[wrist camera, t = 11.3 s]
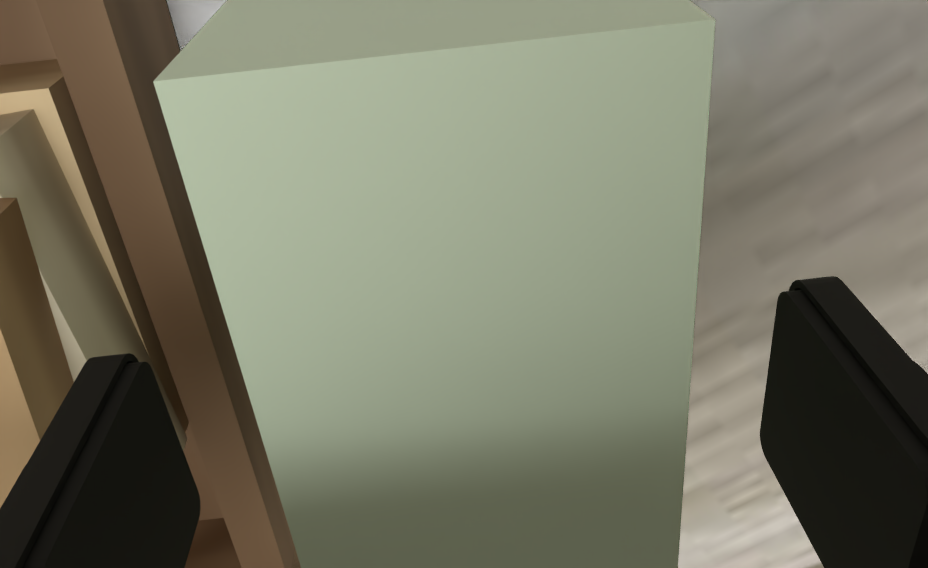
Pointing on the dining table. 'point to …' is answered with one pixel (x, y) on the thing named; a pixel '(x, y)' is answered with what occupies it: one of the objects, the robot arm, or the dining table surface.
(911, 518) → the robot arm
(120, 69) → the wooden tray
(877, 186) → the dining table surface
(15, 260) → the offcut teak
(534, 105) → the pale green rectangular block
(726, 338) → the dining table surface
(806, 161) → the dining table surface
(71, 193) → the offcut birch
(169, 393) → the offcut oak
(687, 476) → the dining table surface
